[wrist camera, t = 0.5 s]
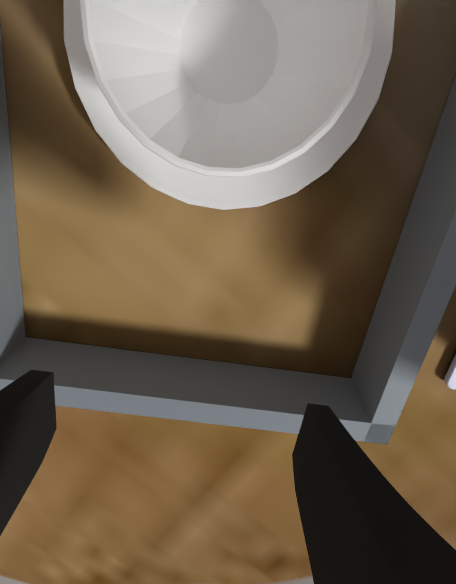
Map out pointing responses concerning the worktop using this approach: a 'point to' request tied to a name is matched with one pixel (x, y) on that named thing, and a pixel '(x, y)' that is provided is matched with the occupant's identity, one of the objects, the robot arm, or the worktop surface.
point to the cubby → (252, 379)
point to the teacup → (228, 89)
